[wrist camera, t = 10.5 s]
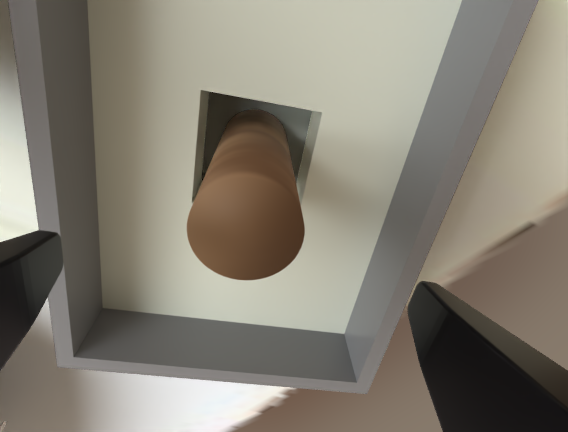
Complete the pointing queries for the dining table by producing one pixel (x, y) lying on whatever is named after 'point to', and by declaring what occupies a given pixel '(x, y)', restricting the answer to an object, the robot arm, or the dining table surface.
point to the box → (189, 162)
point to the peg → (248, 202)
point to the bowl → (2, 426)
